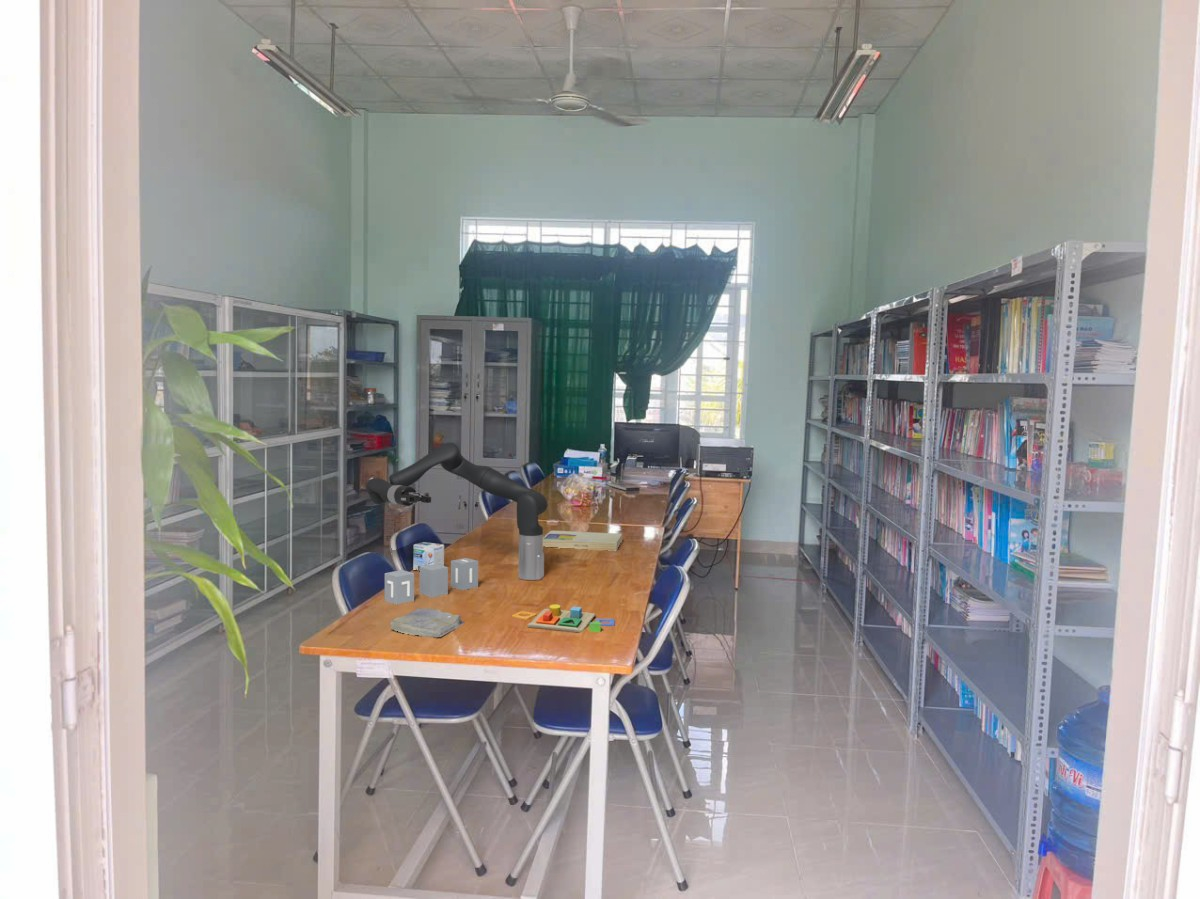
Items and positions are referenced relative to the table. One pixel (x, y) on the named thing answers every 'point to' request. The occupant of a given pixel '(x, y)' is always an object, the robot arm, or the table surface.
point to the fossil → (427, 623)
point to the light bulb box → (427, 554)
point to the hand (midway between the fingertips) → (429, 499)
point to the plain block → (434, 580)
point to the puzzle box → (583, 540)
